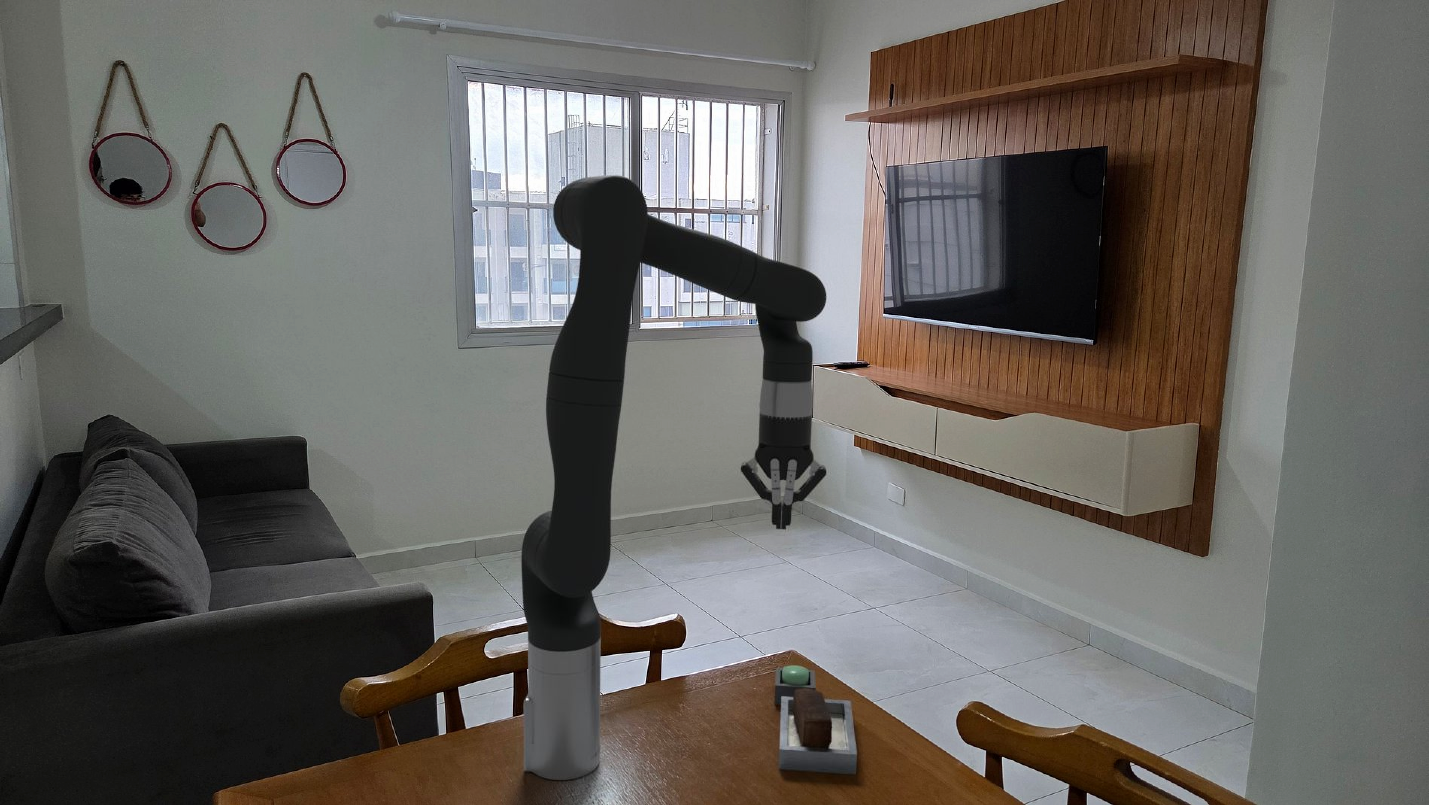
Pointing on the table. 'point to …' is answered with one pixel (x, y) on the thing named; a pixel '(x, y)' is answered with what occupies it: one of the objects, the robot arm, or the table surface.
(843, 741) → the tray
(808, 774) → the table surface
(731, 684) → the table surface
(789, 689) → the button box
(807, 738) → the brick
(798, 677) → the button
